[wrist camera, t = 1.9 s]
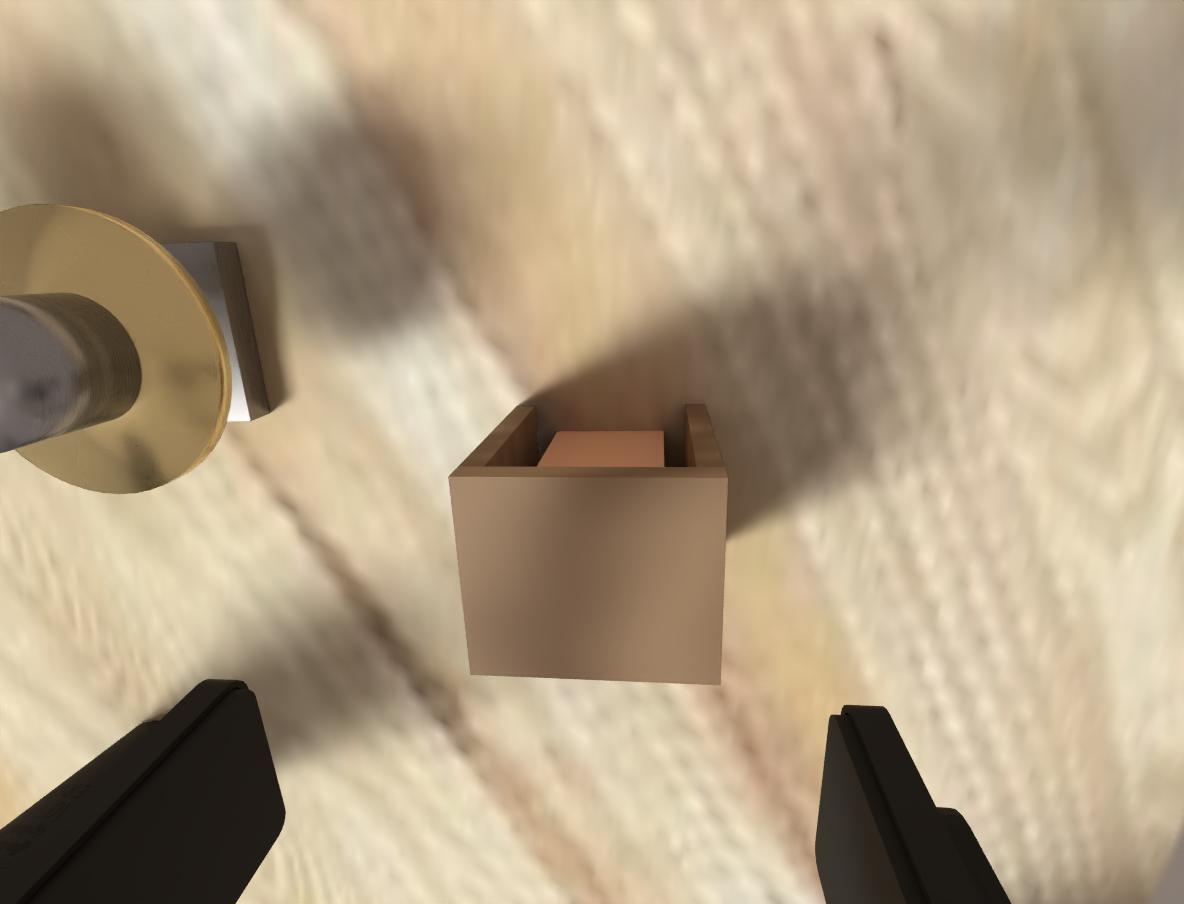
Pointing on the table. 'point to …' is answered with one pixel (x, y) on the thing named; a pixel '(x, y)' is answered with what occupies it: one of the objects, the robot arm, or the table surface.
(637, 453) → the block
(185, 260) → the balance
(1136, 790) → the table surface
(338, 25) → the table surface
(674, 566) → the arch
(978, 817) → the table surface
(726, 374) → the table surface
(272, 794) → the robot arm
